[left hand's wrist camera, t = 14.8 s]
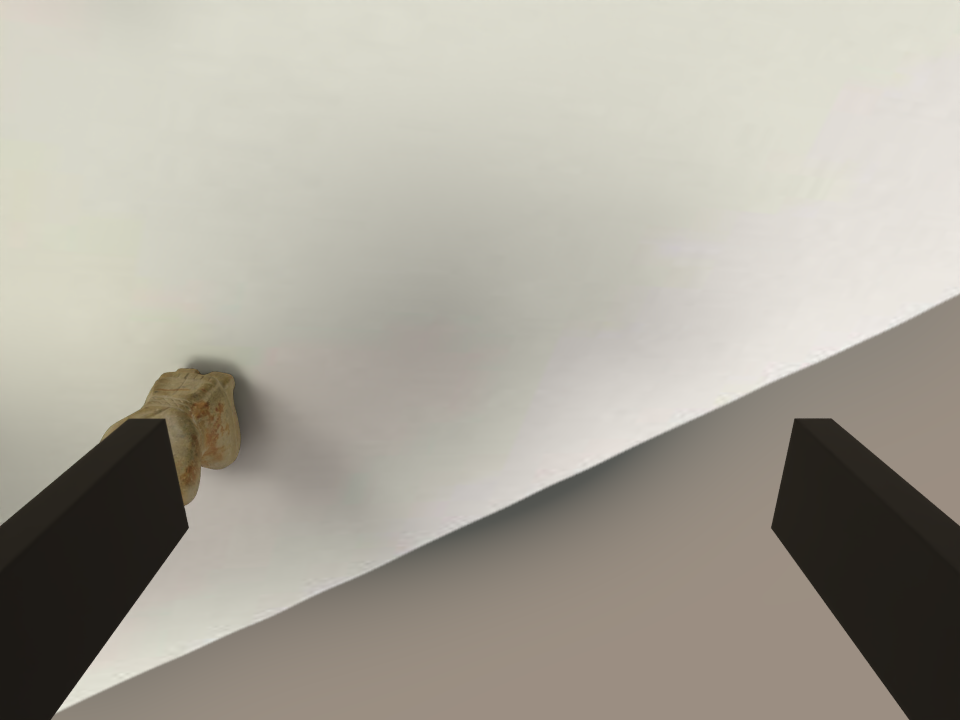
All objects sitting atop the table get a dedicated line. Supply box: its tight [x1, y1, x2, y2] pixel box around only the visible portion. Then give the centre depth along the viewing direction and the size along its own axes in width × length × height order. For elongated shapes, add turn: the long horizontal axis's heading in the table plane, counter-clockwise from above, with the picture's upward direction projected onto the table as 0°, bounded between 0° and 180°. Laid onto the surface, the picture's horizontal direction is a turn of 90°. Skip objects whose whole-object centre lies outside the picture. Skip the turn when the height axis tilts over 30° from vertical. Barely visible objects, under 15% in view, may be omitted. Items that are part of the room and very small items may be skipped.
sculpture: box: [100, 368, 241, 506], centre depth 33 cm, size 6×7×15 cm
